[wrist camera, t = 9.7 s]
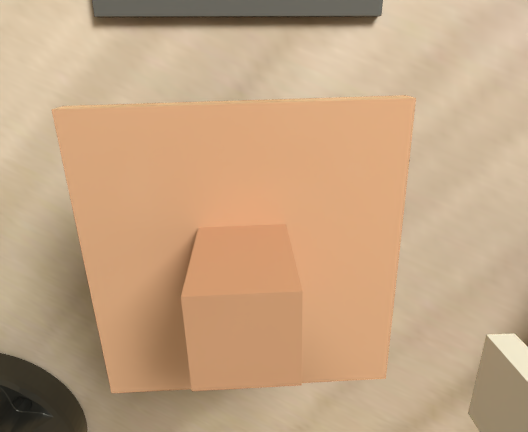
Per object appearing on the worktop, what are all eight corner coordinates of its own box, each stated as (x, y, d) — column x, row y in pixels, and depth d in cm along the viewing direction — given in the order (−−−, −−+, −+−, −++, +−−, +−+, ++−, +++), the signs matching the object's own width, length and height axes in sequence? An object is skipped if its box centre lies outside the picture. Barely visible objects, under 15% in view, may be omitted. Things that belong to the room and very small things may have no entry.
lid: (117, 377, 20) (69, 501, 15) (62, 105, 15) (-39, 137, 10) (379, 363, 21) (429, 478, 15) (405, 95, 16) (493, 119, 10)
